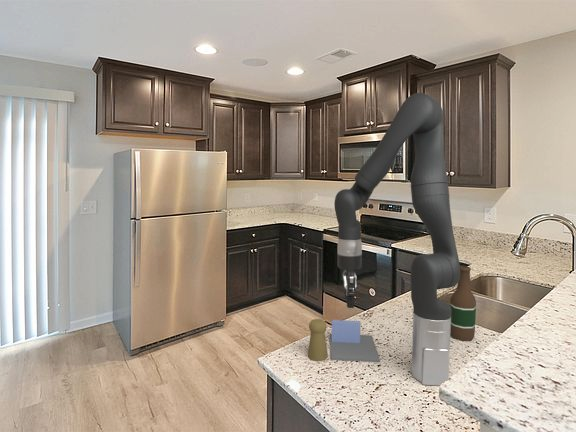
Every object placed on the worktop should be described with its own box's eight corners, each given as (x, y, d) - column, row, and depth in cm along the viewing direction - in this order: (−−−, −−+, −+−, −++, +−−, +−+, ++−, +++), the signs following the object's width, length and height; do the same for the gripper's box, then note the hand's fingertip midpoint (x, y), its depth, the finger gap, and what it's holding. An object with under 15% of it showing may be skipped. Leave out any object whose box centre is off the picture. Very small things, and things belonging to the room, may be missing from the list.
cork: (331, 355, 103) (332, 320, 102) (319, 363, 98) (319, 326, 97) (316, 349, 107) (316, 315, 106) (303, 356, 102) (303, 321, 101)
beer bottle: (463, 343, 110) (466, 270, 107) (443, 333, 117) (446, 265, 114) (480, 339, 113) (483, 268, 110) (459, 329, 120) (462, 262, 117)
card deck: (360, 343, 109) (360, 323, 109) (331, 341, 110) (331, 322, 110) (359, 340, 111) (359, 320, 111) (331, 339, 112) (331, 319, 112)
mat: (380, 362, 99) (380, 360, 99) (331, 359, 100) (331, 358, 100) (371, 337, 115) (371, 335, 115) (329, 335, 116) (329, 333, 116)
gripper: (364, 257, 100) (364, 311, 101) (358, 248, 114) (358, 295, 116) (338, 257, 101) (338, 310, 102) (336, 248, 115) (336, 295, 116)
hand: (349, 302), depth 109 cm, fingers open, 8 cm apart
